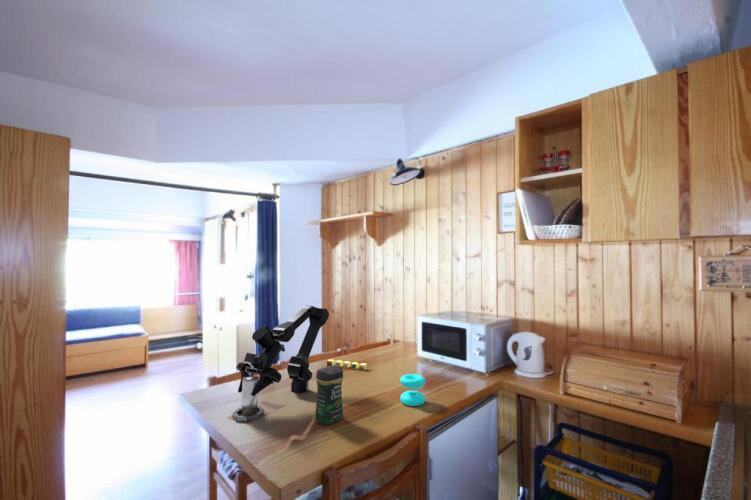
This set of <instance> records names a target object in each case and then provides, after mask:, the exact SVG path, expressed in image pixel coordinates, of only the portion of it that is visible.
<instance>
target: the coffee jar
mask: <svg viewBox="0 0 751 500" xmlns="http://www.w3.org/2000/svg"><path fill="white" fill-rule="evenodd" d="M343 370H344V368H343V367H340V366H337V365H333V366H330V367H329V366H327V367H323V368H319V369H317V370H316V374H315V376H316V377H315V381H316V384H317V392H316V393H317V394H316V404H315V405H316V406H315V412H314V413H315V414H314V415H315V417H314V419H315V421H316V422H317V423H319V424H321V425H327V426H329V425H331V424H334V423H336V422H338V421H340V420H341V419H343V417H344V408H343V397H342V395H343V393H342V384H343V381H344V371H343Z"/></svg>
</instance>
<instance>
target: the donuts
mask: <svg viewBox="0 0 751 500" xmlns="http://www.w3.org/2000/svg"><path fill="white" fill-rule="evenodd" d="M399 383H400V384H401V385H402V386H403V387H404V388H408V389H419V388H421V387H423V386H424V385H425V384H426V379H425V378H424V376H422V375H420V374H417V373H407V374H403V375H402V376H401V377H400V379H399ZM399 397H400V402H401V403H403V405H406V406H410V407H417V406H421V405H423V404H424V403H425V402H426V396H425V395H424V394H423V393H422V392H420V391H417V390H406V391H404V392H402V394H400V396H399Z"/></svg>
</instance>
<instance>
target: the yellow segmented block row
mask: <svg viewBox="0 0 751 500" xmlns="http://www.w3.org/2000/svg"><path fill="white" fill-rule="evenodd" d="M333 365H337V366H340V367H341V366H343V367H344V368H343V367H342V368H343V369H345V368H349V367H351V368H353V369H357V368H359V369H360V370H366V369H367V370H368V363H364V362H361V363H360V362H356V361H355V362H354V361H353V362H351V361H344V360H339V359H337V360H335V359H330V358H329V359H328V360H326V366H327V367H329V366H333ZM351 368H349V369H351ZM353 369H352V370H353ZM359 369H357V370H359ZM360 370H359V371H360ZM367 370H366V371H367Z"/></svg>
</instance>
